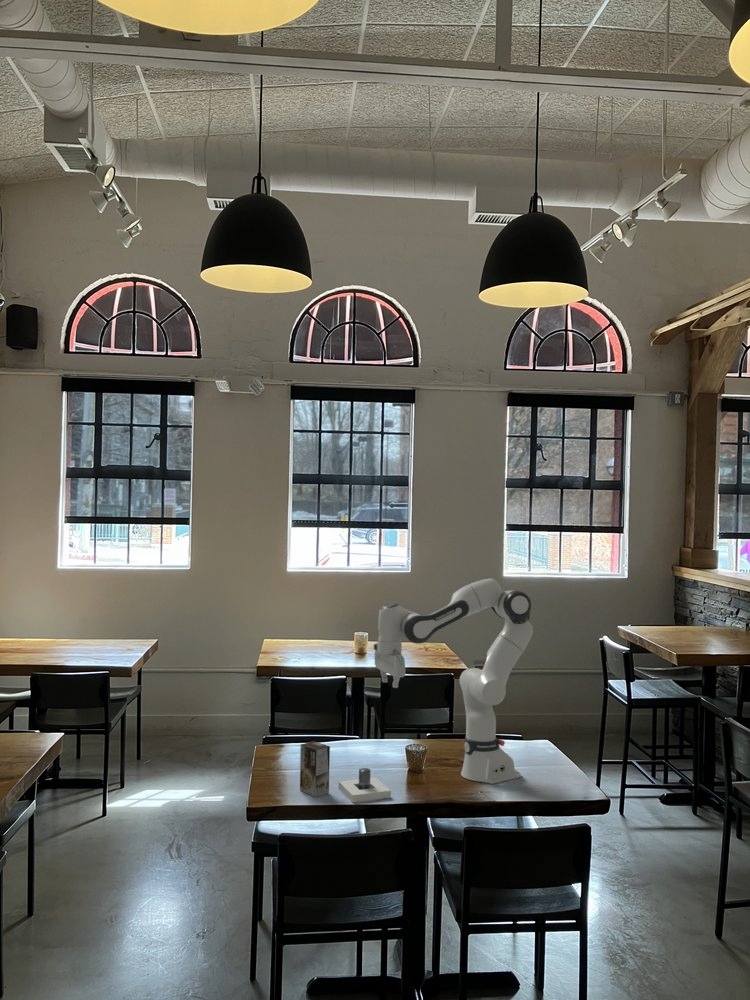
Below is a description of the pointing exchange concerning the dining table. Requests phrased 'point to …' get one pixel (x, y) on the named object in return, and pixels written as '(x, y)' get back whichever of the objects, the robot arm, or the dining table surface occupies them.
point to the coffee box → (314, 768)
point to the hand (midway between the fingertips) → (389, 684)
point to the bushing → (364, 778)
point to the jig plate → (364, 790)
